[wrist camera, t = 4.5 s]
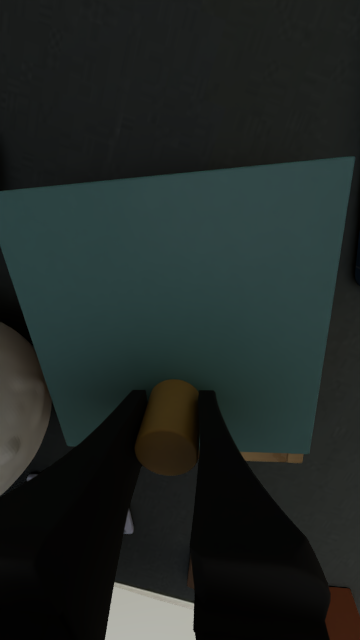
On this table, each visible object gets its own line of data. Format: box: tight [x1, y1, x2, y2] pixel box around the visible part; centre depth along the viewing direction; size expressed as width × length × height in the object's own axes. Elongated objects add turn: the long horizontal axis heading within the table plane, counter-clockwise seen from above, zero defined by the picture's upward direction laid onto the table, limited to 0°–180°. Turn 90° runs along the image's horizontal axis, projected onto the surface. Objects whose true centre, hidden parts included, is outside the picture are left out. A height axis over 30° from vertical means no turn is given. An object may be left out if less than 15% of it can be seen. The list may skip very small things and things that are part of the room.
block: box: [325, 587, 360, 640], centre depth 28 cm, size 4×4×4 cm
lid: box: [0, 156, 355, 476], centre depth 10 cm, size 13×13×4 cm
